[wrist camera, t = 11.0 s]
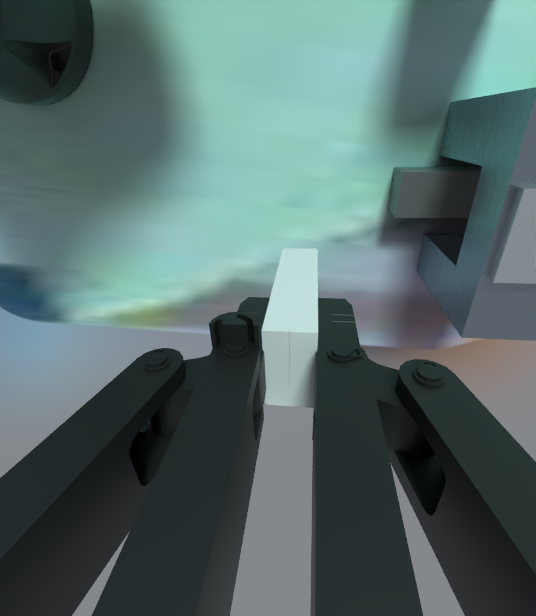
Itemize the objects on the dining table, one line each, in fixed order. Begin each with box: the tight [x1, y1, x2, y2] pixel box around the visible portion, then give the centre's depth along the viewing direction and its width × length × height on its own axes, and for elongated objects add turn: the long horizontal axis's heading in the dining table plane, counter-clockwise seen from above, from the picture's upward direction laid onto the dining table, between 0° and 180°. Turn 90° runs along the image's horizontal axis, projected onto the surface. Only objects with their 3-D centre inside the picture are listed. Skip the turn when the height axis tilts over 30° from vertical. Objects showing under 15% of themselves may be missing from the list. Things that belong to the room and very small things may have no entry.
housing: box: [417, 87, 536, 341], centre depth 26 cm, size 16×6×14 cm, turn 2°
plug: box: [388, 166, 482, 218], centre depth 28 cm, size 5×16×7 cm, turn 92°
